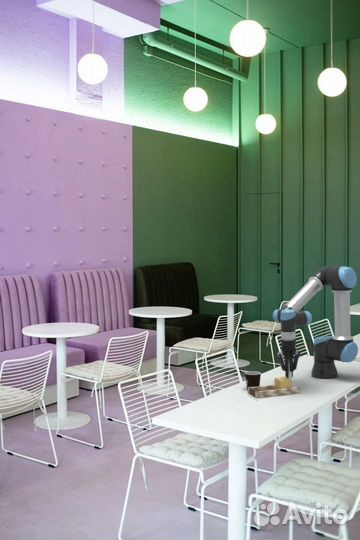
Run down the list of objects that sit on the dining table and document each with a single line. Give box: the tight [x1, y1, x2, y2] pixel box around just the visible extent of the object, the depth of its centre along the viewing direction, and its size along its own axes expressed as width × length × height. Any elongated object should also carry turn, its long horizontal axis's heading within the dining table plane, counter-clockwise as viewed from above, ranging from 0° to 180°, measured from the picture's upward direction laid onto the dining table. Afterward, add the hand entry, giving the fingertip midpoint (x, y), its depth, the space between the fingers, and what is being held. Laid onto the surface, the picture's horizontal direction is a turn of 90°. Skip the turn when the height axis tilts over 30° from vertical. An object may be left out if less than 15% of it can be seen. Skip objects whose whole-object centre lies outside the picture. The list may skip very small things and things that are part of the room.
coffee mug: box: [244, 370, 262, 391], centre depth 335 cm, size 12×9×10 cm
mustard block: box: [274, 376, 291, 390], centre depth 326 cm, size 6×7×7 cm
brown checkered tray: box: [247, 383, 301, 401], centre depth 324 cm, size 25×12×4 cm, turn 108°
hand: (289, 383), depth 327 cm, fingers closed
